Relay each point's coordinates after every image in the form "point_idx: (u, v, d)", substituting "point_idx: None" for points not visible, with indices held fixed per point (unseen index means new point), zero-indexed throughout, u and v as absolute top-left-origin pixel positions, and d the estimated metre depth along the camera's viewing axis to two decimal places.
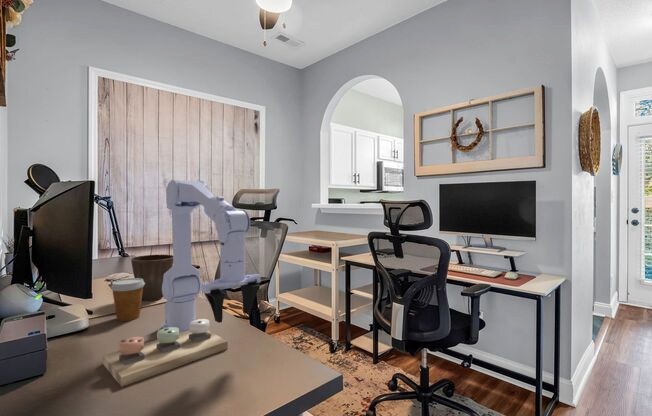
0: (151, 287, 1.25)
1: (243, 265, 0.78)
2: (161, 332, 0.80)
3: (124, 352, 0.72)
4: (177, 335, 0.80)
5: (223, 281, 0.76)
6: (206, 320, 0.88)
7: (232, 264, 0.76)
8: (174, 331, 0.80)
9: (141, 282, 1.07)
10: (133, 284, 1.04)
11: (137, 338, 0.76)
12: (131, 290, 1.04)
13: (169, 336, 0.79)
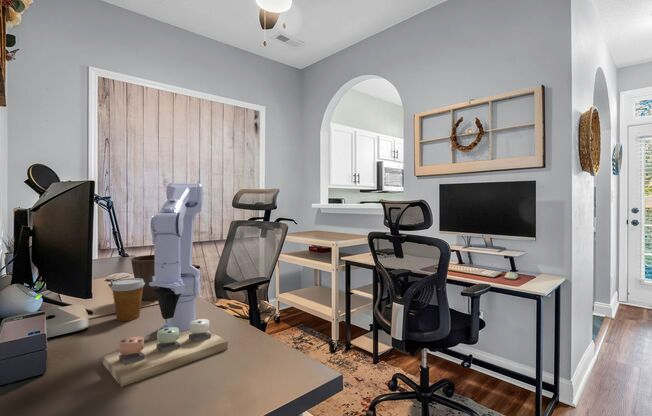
0: (151, 287, 1.25)
1: (158, 268, 0.78)
2: (161, 332, 0.80)
3: (124, 352, 0.72)
4: (177, 335, 0.80)
5: None
6: (206, 320, 0.88)
7: None
8: (174, 331, 0.80)
9: (141, 282, 1.07)
10: (133, 284, 1.04)
11: (137, 338, 0.76)
12: (131, 290, 1.04)
13: (169, 336, 0.79)
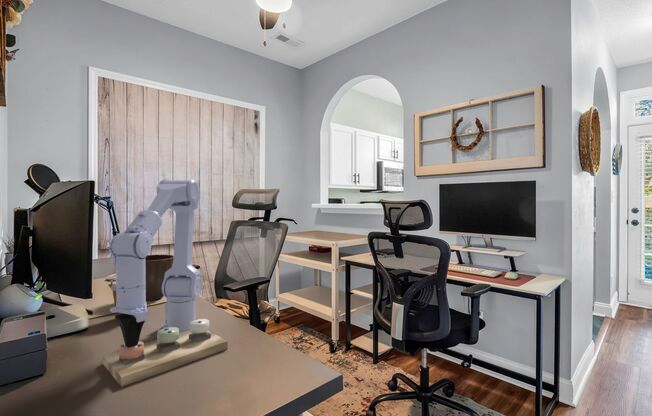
0: (151, 287, 1.25)
1: (120, 293, 0.72)
2: (161, 332, 0.80)
3: (124, 357, 0.72)
4: (177, 335, 0.80)
5: None
6: (206, 320, 0.88)
7: None
8: (174, 331, 0.80)
9: None
10: None
11: None
12: None
13: (169, 336, 0.79)
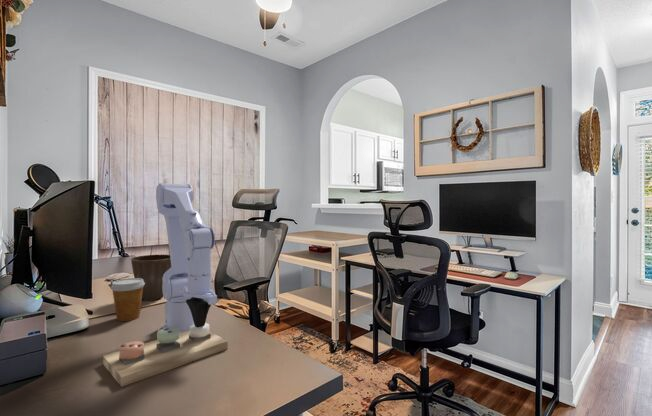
0: (151, 287, 1.25)
1: (192, 280, 0.84)
2: (161, 332, 0.80)
3: (124, 357, 0.72)
4: (177, 335, 0.80)
5: None
6: (206, 324, 0.88)
7: (187, 276, 0.86)
8: (174, 331, 0.80)
9: (141, 282, 1.07)
10: (133, 284, 1.04)
11: (137, 343, 0.76)
12: (131, 290, 1.04)
13: (169, 336, 0.79)
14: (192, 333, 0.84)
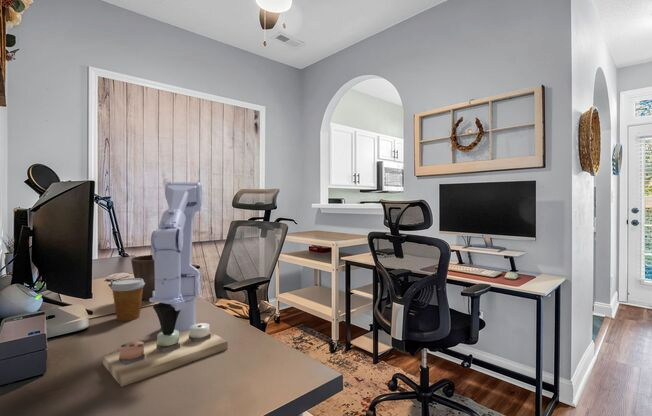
0: (151, 287, 1.25)
1: (158, 284, 0.78)
2: (161, 335, 0.80)
3: (124, 357, 0.72)
4: (177, 338, 0.80)
5: None
6: (206, 324, 0.88)
7: None
8: (174, 334, 0.80)
9: (141, 282, 1.07)
10: (133, 284, 1.04)
11: (137, 343, 0.76)
12: (131, 290, 1.04)
13: (169, 339, 0.79)
14: (192, 333, 0.84)
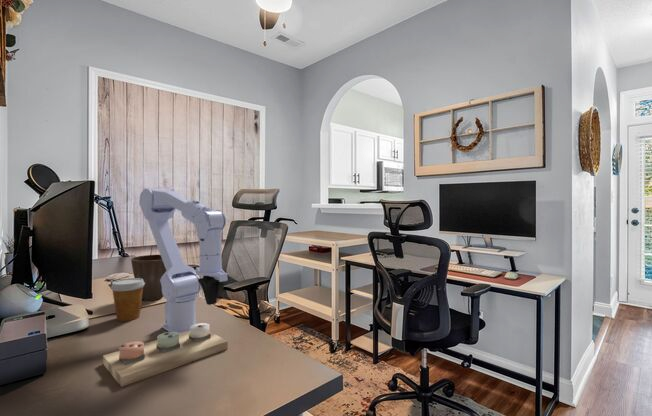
0: (151, 287, 1.25)
1: (203, 259, 0.88)
2: (161, 337, 0.80)
3: (124, 357, 0.72)
4: (177, 340, 0.80)
5: None
6: (206, 324, 0.88)
7: None
8: (174, 336, 0.80)
9: (141, 282, 1.07)
10: (133, 284, 1.04)
11: (137, 343, 0.76)
12: (131, 290, 1.04)
13: (169, 341, 0.79)
14: (192, 333, 0.84)
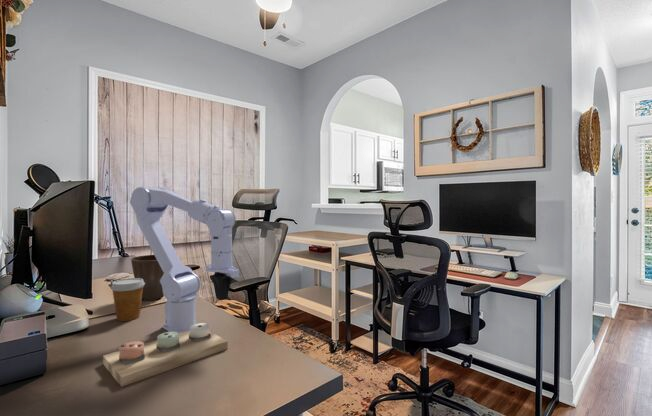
0: (151, 287, 1.25)
1: (215, 256, 0.91)
2: (161, 337, 0.80)
3: (124, 357, 0.72)
4: (177, 340, 0.80)
5: None
6: (206, 324, 0.88)
7: (211, 253, 0.93)
8: (174, 336, 0.80)
9: (141, 282, 1.07)
10: (133, 284, 1.04)
11: (137, 343, 0.76)
12: (131, 290, 1.04)
13: (169, 341, 0.79)
14: (192, 333, 0.84)
